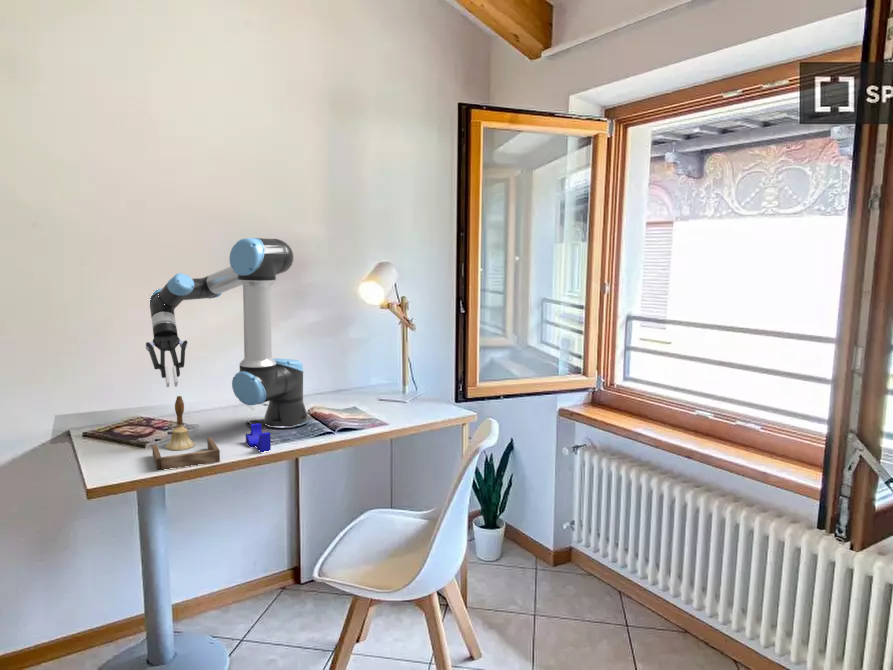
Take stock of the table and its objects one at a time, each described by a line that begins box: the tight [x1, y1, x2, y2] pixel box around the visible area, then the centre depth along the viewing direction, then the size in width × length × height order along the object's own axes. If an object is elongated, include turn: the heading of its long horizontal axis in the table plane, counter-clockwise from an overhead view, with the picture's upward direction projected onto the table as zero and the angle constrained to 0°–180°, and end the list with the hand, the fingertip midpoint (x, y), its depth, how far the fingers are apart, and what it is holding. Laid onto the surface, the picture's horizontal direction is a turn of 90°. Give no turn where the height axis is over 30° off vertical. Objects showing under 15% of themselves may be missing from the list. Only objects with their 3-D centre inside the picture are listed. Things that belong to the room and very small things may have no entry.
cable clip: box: [245, 423, 272, 453], centre depth 183 cm, size 12×4×6 cm, turn 32°
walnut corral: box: [151, 436, 221, 471], centre depth 171 cm, size 16×13×4 cm
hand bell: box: [165, 395, 195, 451], centre depth 181 cm, size 8×8×16 cm
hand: (172, 384), depth 194 cm, fingers open, 2 cm apart
